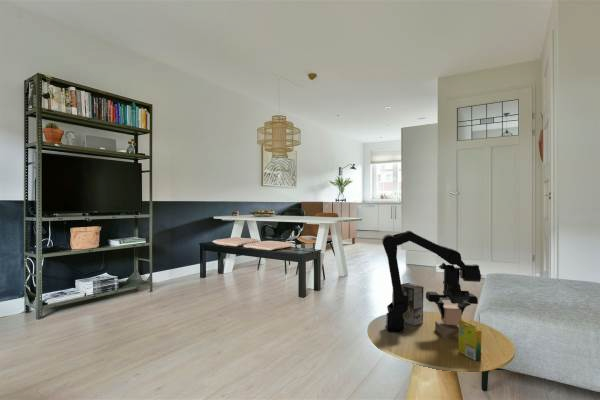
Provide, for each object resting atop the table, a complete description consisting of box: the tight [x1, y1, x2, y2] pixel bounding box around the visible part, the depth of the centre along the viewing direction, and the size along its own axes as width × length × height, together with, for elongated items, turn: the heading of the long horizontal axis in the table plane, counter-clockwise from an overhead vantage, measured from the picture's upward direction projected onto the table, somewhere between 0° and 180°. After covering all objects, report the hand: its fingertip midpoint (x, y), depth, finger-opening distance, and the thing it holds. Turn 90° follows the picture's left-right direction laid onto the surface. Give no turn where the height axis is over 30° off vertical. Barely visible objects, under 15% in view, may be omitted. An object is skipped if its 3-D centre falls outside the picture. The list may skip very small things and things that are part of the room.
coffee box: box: [401, 282, 424, 326], centre depth 152 cm, size 9×6×16 cm
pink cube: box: [440, 304, 463, 325], centre depth 138 cm, size 6×6×6 cm
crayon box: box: [458, 319, 482, 361], centre depth 119 cm, size 7×3×12 cm, turn 21°
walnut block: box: [434, 320, 459, 340], centre depth 138 cm, size 9×9×4 cm
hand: (450, 318), depth 138 cm, fingers closed on pink cube, 6 cm apart
